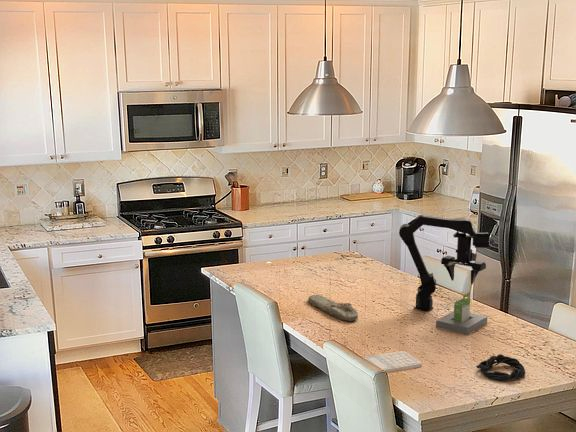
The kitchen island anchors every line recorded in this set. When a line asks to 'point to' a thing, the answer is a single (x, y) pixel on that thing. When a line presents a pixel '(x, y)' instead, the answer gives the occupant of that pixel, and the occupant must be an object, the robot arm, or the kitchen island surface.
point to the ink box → (462, 309)
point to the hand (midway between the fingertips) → (462, 282)
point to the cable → (496, 375)
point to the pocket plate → (459, 327)
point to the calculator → (394, 361)
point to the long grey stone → (334, 308)
